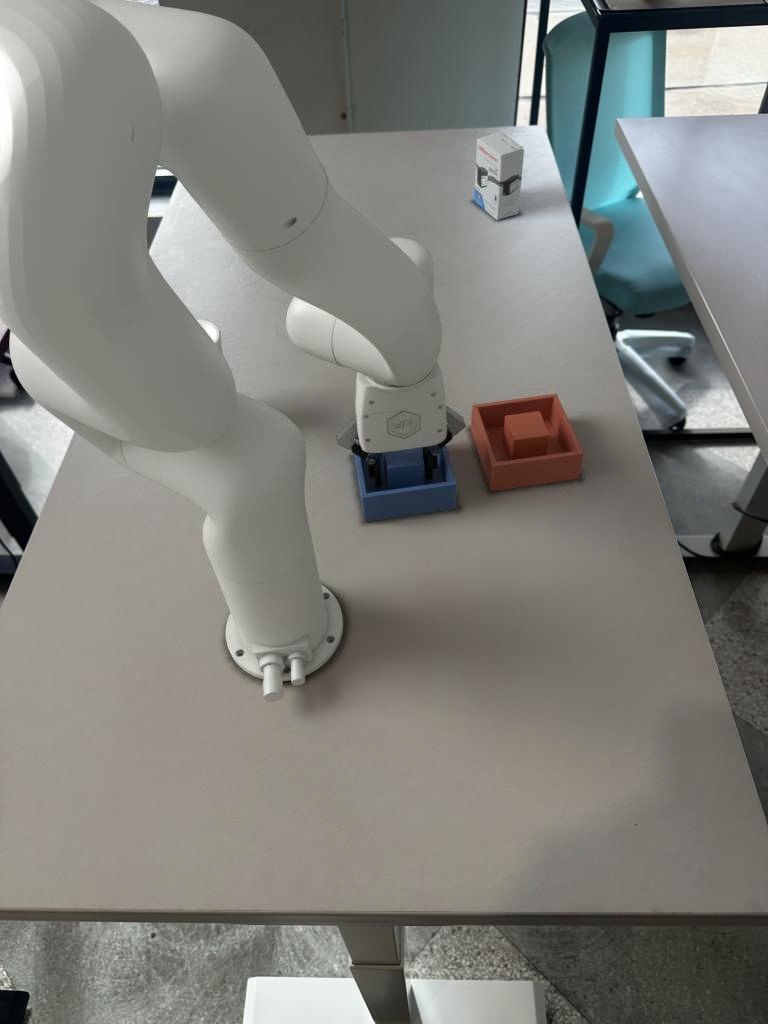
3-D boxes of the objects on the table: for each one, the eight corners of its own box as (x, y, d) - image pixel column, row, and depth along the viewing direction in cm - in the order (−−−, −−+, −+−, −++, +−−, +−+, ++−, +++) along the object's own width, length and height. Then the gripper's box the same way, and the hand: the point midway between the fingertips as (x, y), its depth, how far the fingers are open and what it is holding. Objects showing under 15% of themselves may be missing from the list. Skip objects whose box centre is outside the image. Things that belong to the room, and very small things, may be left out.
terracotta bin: (578, 478, 91) (584, 453, 88) (490, 491, 90) (492, 466, 87) (552, 418, 98) (556, 393, 95) (470, 430, 98) (472, 404, 94)
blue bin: (455, 509, 89) (456, 484, 85) (364, 522, 88) (362, 497, 85) (438, 445, 96) (438, 420, 93) (354, 457, 95) (351, 432, 92)
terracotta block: (545, 460, 93) (550, 435, 89) (511, 465, 92) (514, 440, 89) (535, 436, 96) (539, 410, 92) (502, 441, 95) (504, 415, 92)
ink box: (472, 201, 138) (475, 136, 129) (495, 195, 139) (499, 130, 130) (496, 221, 132) (500, 155, 123) (519, 214, 134) (525, 148, 125)
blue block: (424, 488, 91) (424, 463, 87) (389, 493, 90) (387, 468, 87) (418, 462, 94) (417, 437, 90) (383, 467, 93) (381, 442, 90)
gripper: (320, 391, 74) (337, 506, 88) (485, 369, 75) (477, 487, 89) (314, 347, 79) (331, 463, 93) (469, 327, 80) (464, 445, 94)
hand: (402, 474), depth 91 cm, fingers open, 5 cm apart
